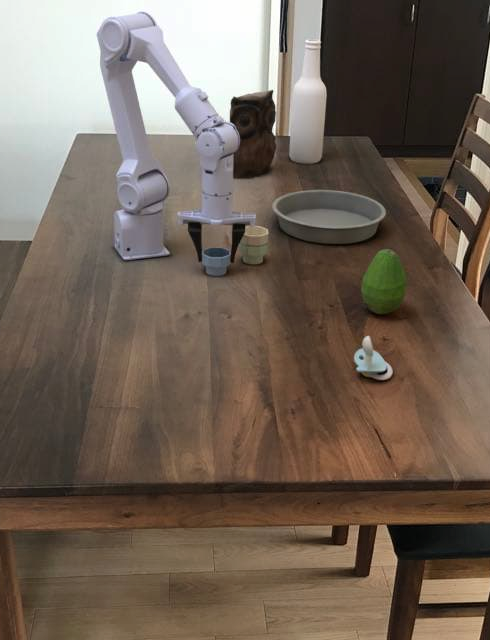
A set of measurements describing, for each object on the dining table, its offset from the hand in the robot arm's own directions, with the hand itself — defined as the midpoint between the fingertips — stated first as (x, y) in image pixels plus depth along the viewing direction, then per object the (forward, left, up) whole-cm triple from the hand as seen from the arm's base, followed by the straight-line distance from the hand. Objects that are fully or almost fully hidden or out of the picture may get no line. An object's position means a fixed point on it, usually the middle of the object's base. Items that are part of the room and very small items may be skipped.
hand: (216, 260), depth 171 cm
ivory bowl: (+9, +3, 0) cm, 10 cm away
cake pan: (+32, +16, -2) cm, 36 cm away
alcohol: (+49, +64, -2) cm, 81 cm away
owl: (+30, +59, -2) cm, 66 cm away
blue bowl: (0, 0, -2) cm, 2 cm away
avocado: (+22, -26, -2) cm, 34 cm away
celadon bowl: (+9, +3, -2) cm, 10 cm away
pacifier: (+10, -45, -2) cm, 46 cm away
